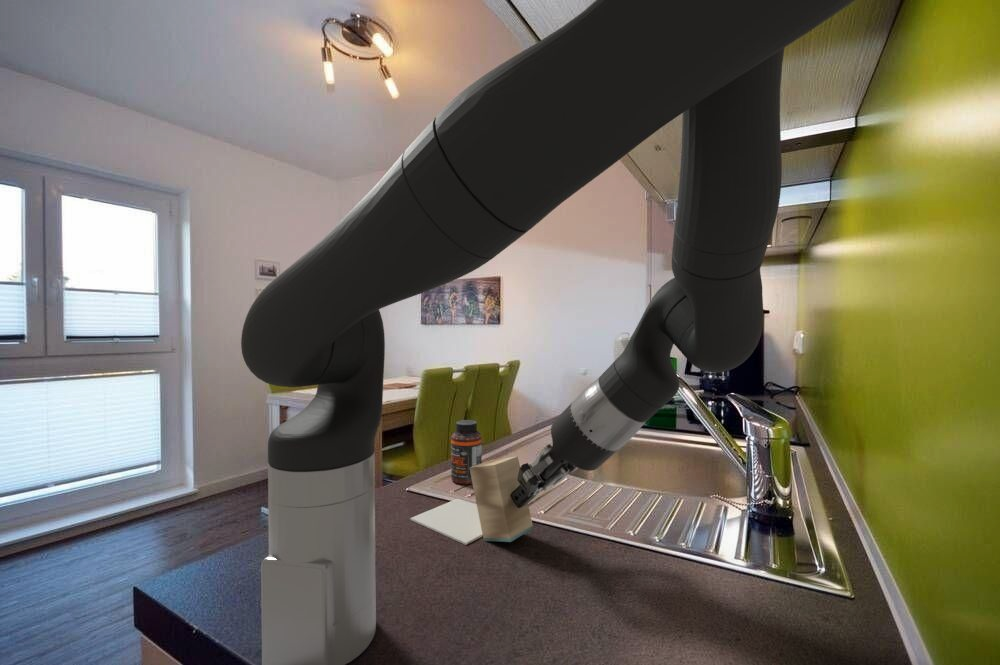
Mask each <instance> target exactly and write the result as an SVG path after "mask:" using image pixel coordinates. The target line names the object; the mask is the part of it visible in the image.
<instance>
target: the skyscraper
mask: <svg viewBox="0 0 1000 665" xmlns="http://www.w3.org/2000/svg"><path fill="white" fill-rule="evenodd" d="M620 335H627V336H625V337H624V336H622V337H621V336H620ZM630 335H631V334H630V333H629V332H620V333H618V334H616V335H615V336H614V338H613V344H612V346H613V351H612V353H613V356H612V357H613V362H614V361H615V360H616V359H617V358H618V357H619V356H620V355H621V354H622V353H623V351H624V349H625V348H626V346H627V344H628V342H629V340H630V338H631V336H630ZM619 336H620V337H619ZM617 337H619V339H617Z"/></svg>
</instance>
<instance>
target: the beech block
mask: <svg viewBox="0 0 1000 665" xmlns="http://www.w3.org/2000/svg"><path fill="white" fill-rule="evenodd" d="M520 467H521V465H520V461H519V456H511V457H502V458H493V459H490V460H487V461H484V462H482V463H481V464H478V465H476V466H473V467H470V473H471V478H472V483H473V484H472V488H473V493H474V497H475V502H476V503H475V505H477V509H478V514H479V519H480V524H481V529H482V534H483V536H482V537H483V541H484V542H504V543H511V542H514V541H516V539H518V538H521V536H523V535H525V534H527V533H528V532H530V531H531V530H533V526H534V525H533V521H532V516H531V510H530V506H529V503H528V504H527V505H525V506H523V507H521V508H518V507H517V506H516V505H515V503H514V502H513V500H512V498H511V493H512V492H513V491H514V490H515V489H516V488H517V487H518V486H519V485H520V484H519V482H518V481H517V479H518V473H519V468H520Z"/></svg>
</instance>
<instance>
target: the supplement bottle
mask: <svg viewBox="0 0 1000 665" xmlns="http://www.w3.org/2000/svg"><path fill="white" fill-rule="evenodd" d="M455 425H456V426H455V429H456V430H455V432H453V433H452V435H451V436H450V476H451V477H450V479H451V481H452V482H454V483H456V484H458V483H459V485H473V483H472V478H471V473H470V467H473V466H476V465H478V464H481V463H483V462H482V458H483V457H482V456H483V455H482V451H483V450H482V443H483V442H482V435H481V432H479V431H478V429H477V426H478V425H477V421H475V420H472V419H470V420H469V419H463V420H459V421H456V423H455Z"/></svg>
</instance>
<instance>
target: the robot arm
mask: <svg viewBox="0 0 1000 665" xmlns="http://www.w3.org/2000/svg"><path fill="white" fill-rule="evenodd" d="M855 1H856V0H594V1H593V2H592V3H591V4H590V5H589V6H588V7H587V8H585V9H584V10H583V11H581V13H579V14H578V15H577V16H575V17H573V19H571V20H570V21H568V22H567V23H566V24H564V25H563V26H562V27H560V28H558V29H557V30H555V31H553V32H552V33H551V34H549V35H547V36H546V37H544V38H543V39H541V40H539V41H538V42H536V43H534V44H533V45H531V46H529V47H528V48H526V49H524V50H523V51H521V52H519V53H517V54H516V55H514V56H511V57H510V58H508V60H506V61H504V62H502V63H501V64H499V65H497V66H496V67H495V68H492V70H490V71H489V72H487V73H486V74H484V75H483V76H481V77H480V78H478V79H477V80H476V81H475V82H473V83H471V84H470V85H469V86H468V87H466V88H465V89H464V90H463V91H461V92H460V93H458V95H457V96H455V97H454V99H452V100H451V101H450V102H449V103H448V104H447V105H446V106H445V107H443V109H442V110H441V111H440V112H439V113H438V114H437V115H436V117H434V119H433V120H432V121H431V122H430V123H429V124H428V125H427V126H426V127H425V128H424V130H422V131H421V133H419V135H418V136H417V137H416V138H415V139H414V140H413V141H412V143H410V145H409V146H408V147H407V148H406V149H405V150H404V151H403V152H402V153H401V155H400V156H399V157H398V159H397V160H396V161H395V162H394V163H393V164H392V166H390V168H389V169H388V171H386V173H385V174H383V176H382V178H380V180H379V181H377V183H376V184H375V185H374V186H373V188H372V189H370V191H368V193H367V194H365V196H364V197H363V198H362V199H361V200H359V202H358V203H357V204H356V205H355V206H354V207H352V209H351V210H350V211H349V212H347V214H346V215H345V216H344V217H343V218H342V219H341V220H340V221H339V222H338V223H337V224H336V225H335V226H334V227H333V228H332V229H331V230H330V231H329V232H328V233H327V234H326V235H325V236H324V237H323V238H322V239H321V240H319V241H318V242H317V243H316V244H315V245H314V246H312V248H310V249H309V250H308V251H307V252H305V253H304V254H303V255H302V256H300V257H299V258H298V259H297V260H296V261H295V262H293V263H292V264H291V265H290V266H288V267H287V268H286V269H285V270H284V271H282V272H281V273H280V274H279V275H278V276H276V277H275V278H274V279H273V280H272V281H271V282H269V283H268V284H267V285H266V286H265V288H263V290H261V292H260V293H259V294H258V295H257V297H256V298H255V300H254V302H252V304H251V305H250V308H249V310H248V311H247V314H246V317H245V319H244V323H243V325H242V326H243V327H242V330H241V337H240V338H241V339H240V344H241V345H240V346H241V347H240V348H241V354H242V358H243V361H244V362H245V365H246V366H247V367H246V368H248V370H249V371H250V373H252V374H253V375H254V376H255V377H256V378H257V379H258V380H259V381H262V382H264V383H266V384H269V385H272V386H275V387H284V388H285V387H287V388H303V387H310V386H311V387H312V386H317V389H316V393H315V395H314V397H313V399H312V400H311V401H310V403H309V404H308V405H307V406H306V407H304V408H303V410H301V411H299V413H297V414H295V415H294V416H292V417H291V418H289V419H287V420H286V421H284V422H282V423H281V424H279V425H277V426H276V427H275V428H274V429H273V430H272V431H271V433H270V435H269V438H268V441H267V469H268V470H267V478H268V482H267V484H268V485H267V488H268V491H267V492H268V494H267V495H268V497H267V501H268V504H267V507H268V555H267V556H266V557H265V558H264V559H263V560H262V561H261V565H260V570H261V571H260V576H261V577H260V578H261V579H260V580H261V583H260V584H261V586H260V587H261V589H260V591H261V597H260V598H261V665H347V664H349V663H350V662H352V661H353V660H355V659H356V658H358V657H359V656H360V655H361V654H362V653H364V652H365V650H366V649H367V648H368V647H369V645H370V644H371V642H372V641H373V639H374V638H375V635H376V631H377V630H376V628H377V610H376V608H377V606H376V603H377V601H376V595H377V594H376V591H377V590H376V505H375V504H376V502H375V501H376V495H375V494H376V493H375V492H376V490H375V489H376V488H375V485H376V484H375V482H376V478H375V477H376V474H375V473H376V472H375V470H376V469H375V468H376V467H375V465H376V464H375V449H376V447H375V443H376V442H375V440H376V435H377V432H378V429H379V427H380V424H381V419H382V416H383V415H382V414H383V397H384V378H385V377H384V374H385V373H384V372H385V357H386V356H385V354H386V353H385V350H386V348H385V347H386V346H385V345H386V344H385V343H386V342H385V341H386V340H385V328H384V322H383V317H382V314H381V312H380V310H381V309H383V308H385V307H388V306H391V305H393V304H396V303H398V302H402V301H403V300H407V299H410V298H412V297H414V296H415V297H416V296H419V295H421V294H423V293H426V292H429V291H431V290H434V289H436V288H438V287H441V286H444V285H446V284H448V283H451V282H453V281H456V280H457V279H460V278H462V277H465V276H466V275H468V274H471V273H472V272H474V271H475V270H478V269H480V268H481V267H482V266H484V265H486V264H487V263H488V262H490V261H492V259H494V258H496V257H497V256H498V255H499V254H501V253H502V252H503V251H504V250H505V249H507V248H508V247H510V246H511V245H512V244H514V243H515V242H516V241H518V239H519V238H521V237H522V236H524V235H525V234H526V233H528V232H529V231H530V230H532V229H533V228H534V227H535V226H536V225H537V224H539V223H540V222H541V221H542V220H543V219H544V218H546V217H548V215H549V214H550V213H551V212H553V211H554V210H555V209H556V208H557V207H558V206H560V205H561V204H563V203H564V202H565V201H567V199H569V198H570V197H572V196H573V195H574V194H575V193H577V192H578V191H580V190H581V189H582V188H584V187H585V186H586V185H588V184H589V183H591V182H592V181H593V180H594V179H595V178H598V176H600V175H601V174H603V173H604V172H605V171H606V170H608V169H609V168H610V167H612V166H613V165H614V164H616V163H617V162H619V161H620V160H621V159H622V158H624V157H625V156H626V155H628V154H629V153H630V152H631V151H633V150H634V149H635V148H636V147H638V146H639V145H640V144H642V143H643V142H644V141H646V140H647V139H649V137H651V136H652V135H654V134H655V133H656V132H658V131H659V130H660V129H661V128H663V127H664V126H666V125H667V124H669V123H671V121H673V120H674V119H676V118H677V117H679V116H680V115H681V116H682V121H681V122H682V123H681V125H682V126H681V130H682V131H681V148H680V149H681V150H680V151H681V152H680V167H679V168H680V169H679V181H678V182H679V184H678V193H677V202H676V203H677V204H676V210H675V211H676V213H675V220H674V221H675V222H674V229H673V241H672V250H671V270H672V271H671V272H672V273H673V276H674V277H673V278H671V279H669V280H668V281H667V282H665V283H664V284H663V285H662V286H661V287H660V288H658V290H657V291H656V293H655V294H654V295H653V297H652V298H651V299H650V301H649V303H648V305H647V306H646V308H645V310H644V312H643V314H642V316H641V318H640V319H639V322H638V323H637V325H636V327H635V329H634V331H633V332H632V335H631V336H630V337H631V338H630V339H628V340H629V342H628V344H627V346H626V348H625V349H624V351H623V353H622V354H621V355H620V356H619V357H618V358H617V359H616V360H615V361H614V360H613V362H612V364H610V365H609V367H607V368H606V369H605V370H604V372H603V373H601V375H599V377H597V378H596V379H595V380H594V381H592V382H591V383H590V384H589V385H588V386H586V387H585V388H584V389H583V390H582V391H581V392H580V393H579V394H578V396H577V397H575V399H574V400H573V401H572V402H571V403H570V404H569V405H568V406H567V407H566V408H565V409H564V410H563V411H562V412H561V414H559V416H558V417H557V418H555V420H554V421H553V422H552V424H551V427H550V435H551V440H552V444H551V443H549V444H547V445H545V447H542V450H541V451H540V452H539V455H538V457H537V458H535V460H534V461H533V462H532V463H531V464H530V463H528V462H527V463H523V464H522V465H520V468H519V473H518V479H517V481H518V482H519V484H520V485H519V486H518V487H517V488H516V489H515V490H514V491H513V492H512V493H511V498H512V500H513V502H514V503H515V505H516V506H517V507H518V508H521V507H523V506H525V505H527V504H528V505H529V503H531V501H532V500H534V498H535V497H536V496H538V495H539V494H540V493H542V492H545V491H547V489H548V488H550V487H552V486H553V485H556V484H558V483H561V481H562V480H564V478H566V477H567V476H568V475H569V474H571V473H573V472H575V471H577V470H578V469H580V470H583V471H587V472H591V471H596V470H597V469H599V468H600V467H601V466H602V465H603V464H604V463H606V462H607V461H608V460H609V459H610V458H612V456H613V455H614V454H615V453H617V452H618V451H619V450H620V449H621V448H622V447H623V446H624V445H625V444H627V443H628V442H629V441H630V440H632V438H633V437H634V436H635V435H636V434H638V432H639V431H640V429H641V428H642V427H643V425H645V424H646V422H647V421H648V420H650V419H651V418H652V417H653V416H655V414H657V413H658V411H660V410H661V409H662V408H663V407H664V406H665V405H667V404H668V403H669V402H670V401H671V400H672V399H673V398H674V397H675V396H676V394H678V392H679V389H680V380H679V376H678V375H677V372H676V371H675V370H676V369H675V368H674V366H673V363H672V360H671V352H672V349H673V347H674V346H675V347H676V348H677V349H678V350H679V352H681V354H682V355H683V356H684V357H685V358H686V359H687V360H688V362H689V363H690V364H691V365H693V366H694V367H696V368H697V369H699V370H701V371H703V372H707V373H719V374H720V373H724V372H728V371H732V370H733V369H735V368H737V367H739V366H741V365H742V364H743V363H744V362H745V361H747V360H748V359H749V357H751V355H752V354H753V353H754V351H755V350H756V348H757V346H758V344H759V342H760V339H761V336H762V332H763V328H764V299H763V282H762V274H761V267H762V264H763V261H764V259H765V254H766V252H767V249H768V246H769V242H770V239H771V236H772V234H773V231H774V226H775V224H776V221H777V220H776V219H777V216H778V211H779V205H780V198H781V193H782V192H781V191H782V179H783V178H782V177H783V175H782V173H783V171H782V169H783V168H782V167H783V166H782V165H783V163H782V162H783V160H782V138H781V137H782V136H781V114H780V113H781V85H782V74H783V73H782V71H783V63H784V62H783V61H784V56H785V55H784V53H785V48H786V47H788V46H789V45H790V44H793V43H794V42H795V41H797V40H798V39H800V38H802V37H803V36H805V35H806V34H808V33H809V32H811V31H812V30H814V29H816V28H817V27H819V26H820V25H821V24H823V23H825V22H826V21H827V20H829V19H830V18H832V17H833V16H835V15H836V14H838V13H839V12H841V11H842V10H844V9H845V8H846V7H848V6H849V5H850V4H852V3H854V2H855Z"/></svg>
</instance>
